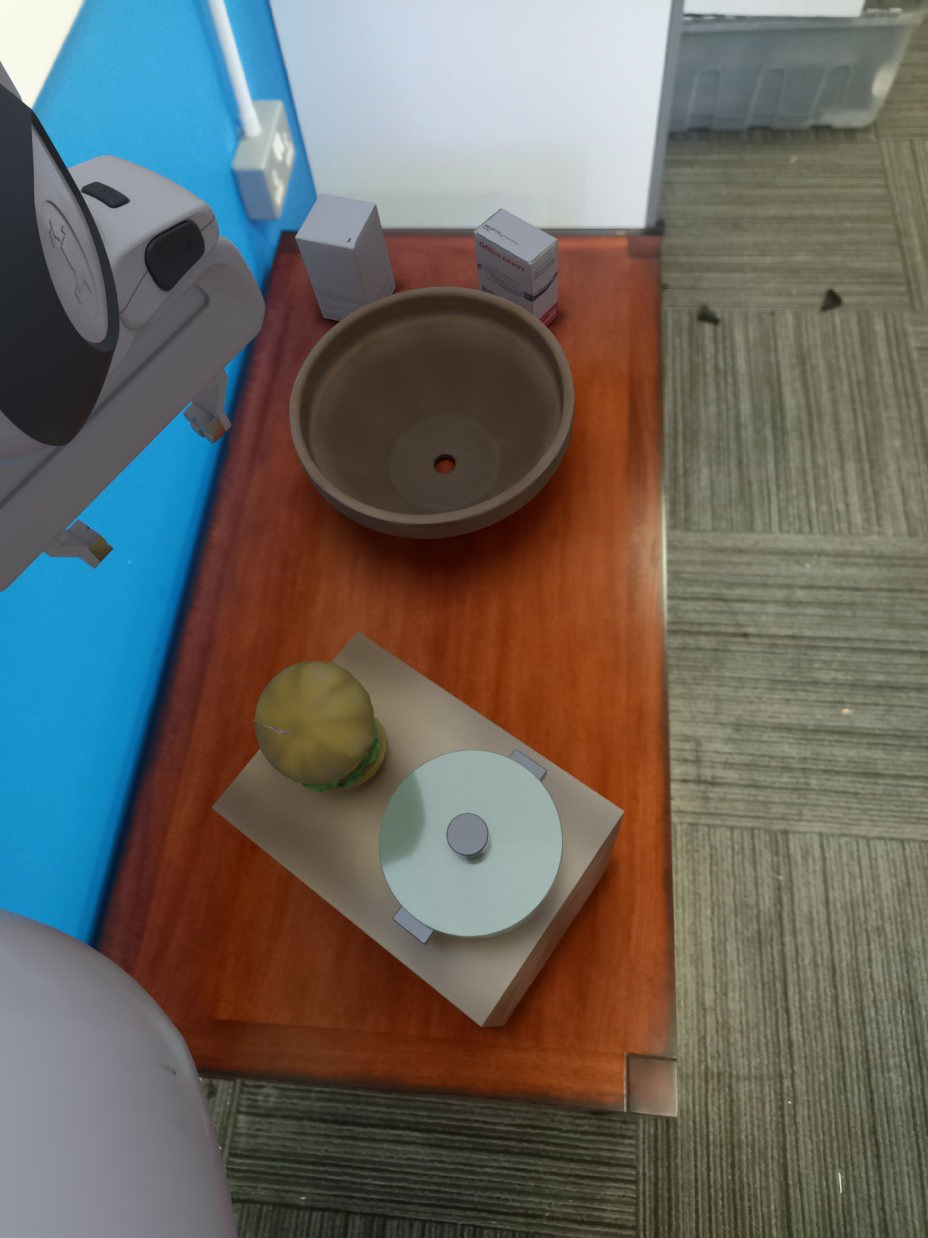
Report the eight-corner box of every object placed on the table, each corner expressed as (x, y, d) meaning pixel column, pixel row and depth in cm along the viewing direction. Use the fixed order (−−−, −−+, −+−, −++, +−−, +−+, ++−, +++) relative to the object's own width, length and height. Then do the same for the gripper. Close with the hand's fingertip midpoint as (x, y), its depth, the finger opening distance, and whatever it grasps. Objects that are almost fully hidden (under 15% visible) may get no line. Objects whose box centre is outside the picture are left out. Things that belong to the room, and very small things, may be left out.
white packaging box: (397, 286, 111) (379, 201, 100) (374, 331, 109) (352, 249, 97) (344, 274, 113) (320, 190, 101) (320, 318, 110) (292, 236, 99)
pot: (490, 995, 54) (479, 990, 47) (356, 888, 58) (326, 868, 50) (602, 828, 58) (608, 799, 50) (468, 736, 61) (456, 697, 54)
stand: (503, 1026, 75) (481, 1027, 54) (302, 864, 83) (210, 807, 61) (607, 868, 80) (624, 811, 58) (407, 728, 87) (357, 630, 65)
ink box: (559, 316, 107) (560, 237, 96) (533, 342, 106) (530, 265, 95) (506, 284, 110) (500, 203, 99) (479, 308, 108) (470, 230, 98)
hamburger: (413, 727, 62) (382, 664, 51) (371, 824, 59) (329, 780, 49) (315, 692, 64) (264, 624, 53) (270, 785, 61) (208, 734, 50)
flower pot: (531, 612, 91) (526, 550, 79) (280, 548, 97) (241, 482, 85) (602, 394, 101) (607, 311, 89) (372, 349, 107) (348, 265, 96)
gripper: (-135, 529, 32) (58, 666, 45) (236, 182, 38) (316, 389, 51) (-231, 451, 34) (-21, 603, 47) (136, 132, 40) (236, 344, 53)
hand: (156, 490), depth 49 cm, fingers open, 8 cm apart
